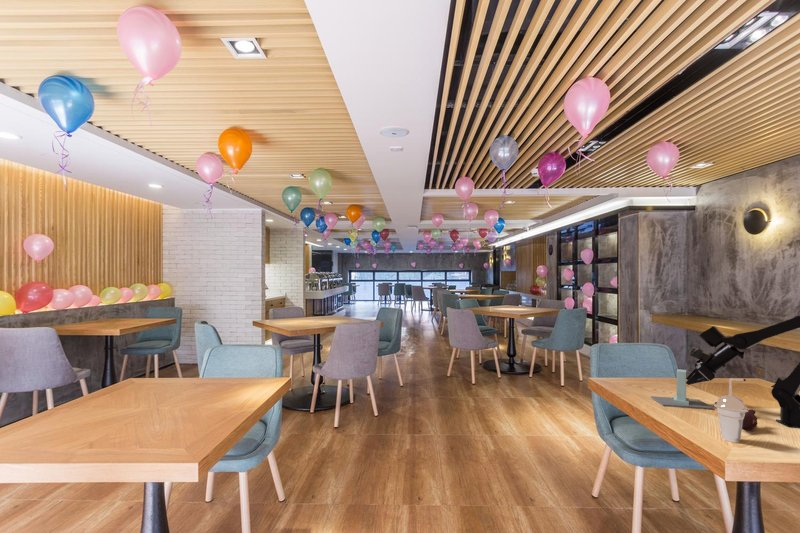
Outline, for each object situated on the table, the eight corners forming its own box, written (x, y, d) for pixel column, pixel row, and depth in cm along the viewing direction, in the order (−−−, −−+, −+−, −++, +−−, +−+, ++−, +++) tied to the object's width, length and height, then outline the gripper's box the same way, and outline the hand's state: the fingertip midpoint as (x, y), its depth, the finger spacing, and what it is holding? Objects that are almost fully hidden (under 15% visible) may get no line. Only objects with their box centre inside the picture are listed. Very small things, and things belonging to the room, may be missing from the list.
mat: (714, 409, 163) (714, 408, 163) (663, 405, 166) (663, 404, 166) (698, 400, 175) (698, 399, 175) (651, 397, 178) (651, 396, 178)
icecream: (753, 417, 134) (768, 413, 143) (726, 405, 140) (742, 402, 149) (746, 437, 135) (761, 432, 144) (719, 424, 141) (735, 420, 150)
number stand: (689, 401, 172) (689, 370, 172) (688, 405, 166) (688, 373, 167) (674, 398, 175) (674, 368, 175) (673, 402, 169) (673, 371, 169)
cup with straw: (743, 437, 134) (743, 373, 134) (753, 447, 125) (753, 379, 126) (710, 433, 137) (711, 370, 138) (718, 442, 129) (718, 376, 130)
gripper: (702, 338, 175) (671, 362, 181) (703, 343, 159) (668, 369, 165) (726, 360, 170) (693, 383, 176) (730, 367, 155) (693, 392, 161)
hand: (686, 381), depth 170 cm, fingers open, 9 cm apart
